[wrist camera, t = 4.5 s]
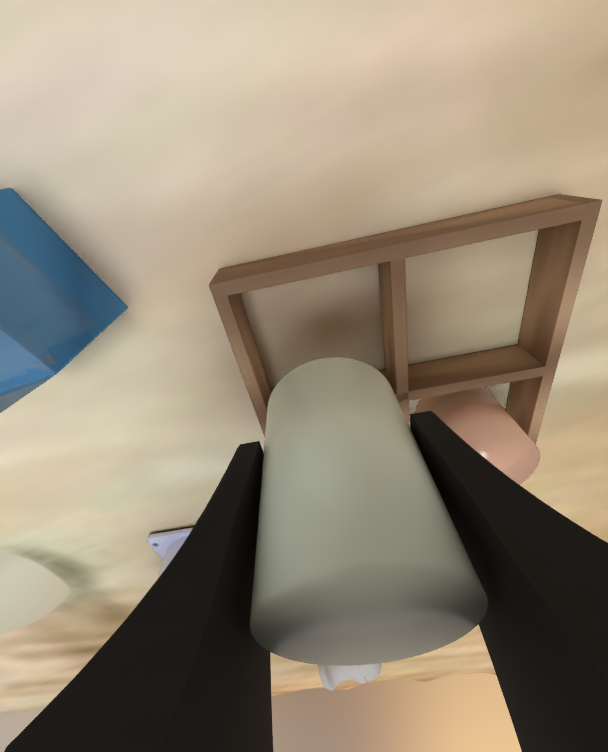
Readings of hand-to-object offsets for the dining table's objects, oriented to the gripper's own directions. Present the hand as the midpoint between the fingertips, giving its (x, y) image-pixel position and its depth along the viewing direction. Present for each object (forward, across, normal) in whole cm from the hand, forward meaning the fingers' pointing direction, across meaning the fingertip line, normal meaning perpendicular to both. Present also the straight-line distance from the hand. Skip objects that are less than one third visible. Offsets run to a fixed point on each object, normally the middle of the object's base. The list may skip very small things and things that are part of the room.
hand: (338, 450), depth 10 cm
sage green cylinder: (+2, 0, 0) cm, 2 cm away
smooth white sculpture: (+9, +4, +46) cm, 47 cm away
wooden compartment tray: (+9, -4, +4) cm, 10 cm away
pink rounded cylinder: (+9, -8, +8) cm, 14 cm away
